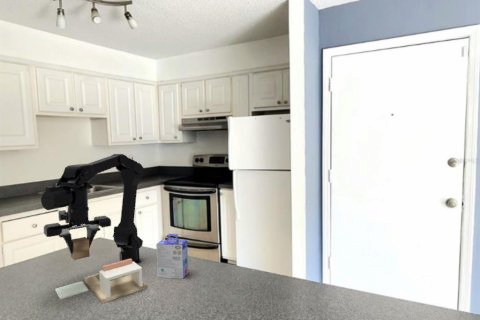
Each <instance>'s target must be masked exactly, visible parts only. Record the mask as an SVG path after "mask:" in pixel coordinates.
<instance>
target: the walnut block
mask: <svg viewBox="0 0 480 320" xmlns="http://www.w3.org/2000/svg"><path fill="white" fill-rule="evenodd" d="M72 247H73V253H72V254H71V253H70V257H71V258H72V259H73V261H76V260H81V259H86V258H89V257H90V248H89V240H88V239H87V236H84V237H77V238H72Z"/></svg>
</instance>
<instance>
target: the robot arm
mask: <svg viewBox="0 0 480 320" xmlns="http://www.w3.org/2000/svg"><path fill="white" fill-rule="evenodd" d="M114 168H115V169H116V170H117V171H118V172H120V180H121V181H122V184H123V192H122V200H121V213H120V221H119V223H118V225H117V226H114V227H113V234H112V238H113V242H114V243H115V245H116V248H119V249H120V251H119V252H118V253H119V261H123V260H127V259H130V258H131V259H132V262H135V263H136V264H139V263H141V262H142V260H141V259H140V258H141V257H140V248H141V247H143V243H144V240H143V239H141V238H140V236H138V228H137V225H136V223H135V215H136V213H135V212H136V205H137V204H136V202H137V193H138V192H137V191H138V185H140V182H141V181H142V179H143V177H144V176H143V175H144V170H145V168H144V166H143V165H142V164H141V162H138V161H137V160H135V159H134V160H133V159H132V158H130V157H128V156H127V155H126V154H124V153H113V154H111V155H110V156H109V155H108V156H107V157H103V158H101V159H97V160H95V161H92V162H88V163H79V164H69V165H67V166H65V167H64V170H63V173H62V174H61V177H60V178H59V179H58V181H57V182H56V184H55V186H46V187H45V190H44V192H43V193H42V195H41V198H40V203H41V205H42V208H43V209H45V210H46V211H50V210H51V211H52V210H56V209H61V208H62V209H63V208H67V211H66V209H65V210H59V211H58V221H59V222H62V221H65V224H60V223H59V222H53V223H47V224H44V226H43V235H44V236H46V238H47V237H48V238H51V237H56V236H58V237H59V238H63V240H64V241H65V243H66V246H67V248H68V250H69V252H70V255H71V254H72V253H73V247H72V239H73V238H72V234H71V233H70V230H77V229H83V228H84V229H85V228H86V238H87V239H88V240H89V249H90V248H91V245H92V243H93V240H94V238H95V236H96V235H97V234H98V232H99V231H101V228H107V227H111V226H112V219H111V218H110V217H108V216H107V215H100V216H94V217H93V219H92V220H89V211H90V207H89V198H88V197H89V195H88V194H89V193H88V190H89V189H90V190H91V189H93V188H94V186H93V185H92V184H90V183H89V182H90V181H91V180H93V179H94V178H95V176H96V175H98V174H101V173H103V172H105V171H109V170H111V169H114ZM100 227H101V228H100Z"/></svg>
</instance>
